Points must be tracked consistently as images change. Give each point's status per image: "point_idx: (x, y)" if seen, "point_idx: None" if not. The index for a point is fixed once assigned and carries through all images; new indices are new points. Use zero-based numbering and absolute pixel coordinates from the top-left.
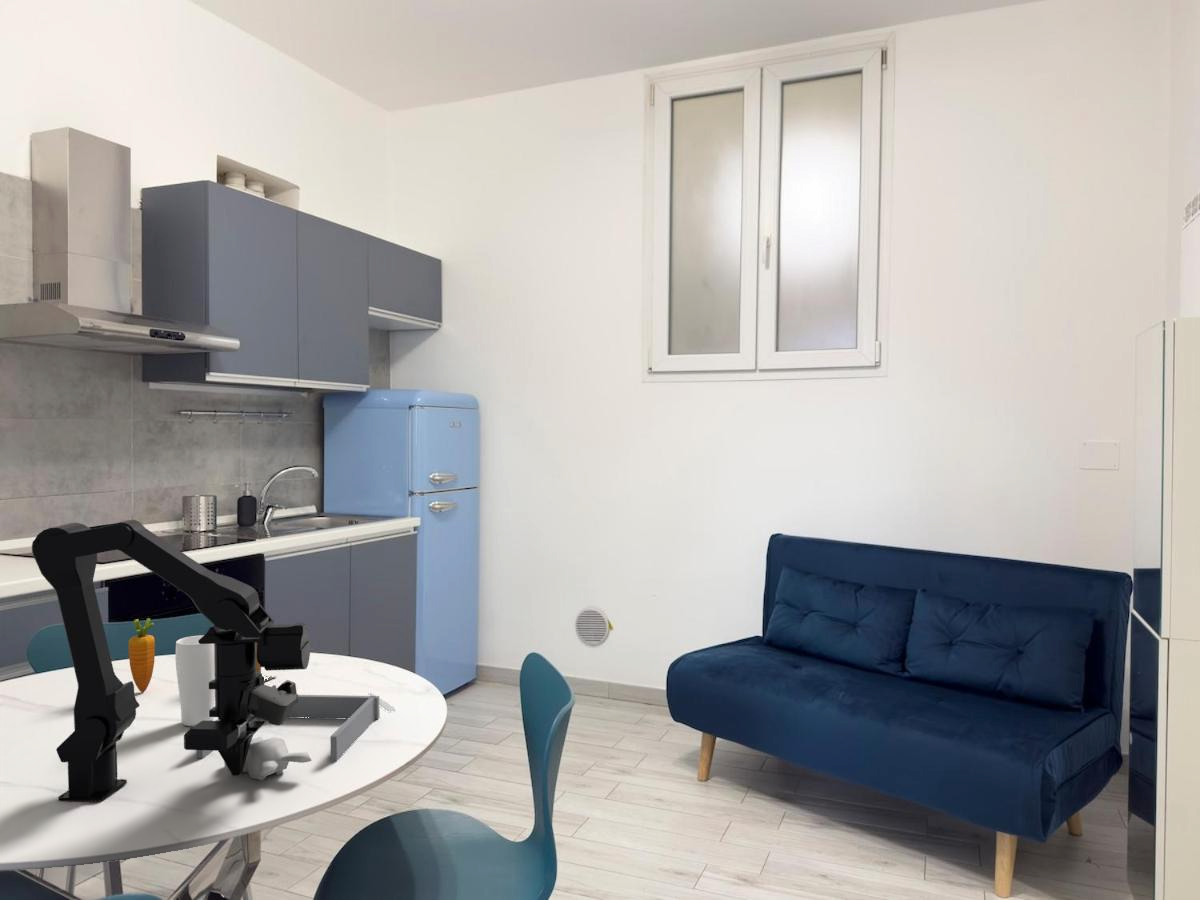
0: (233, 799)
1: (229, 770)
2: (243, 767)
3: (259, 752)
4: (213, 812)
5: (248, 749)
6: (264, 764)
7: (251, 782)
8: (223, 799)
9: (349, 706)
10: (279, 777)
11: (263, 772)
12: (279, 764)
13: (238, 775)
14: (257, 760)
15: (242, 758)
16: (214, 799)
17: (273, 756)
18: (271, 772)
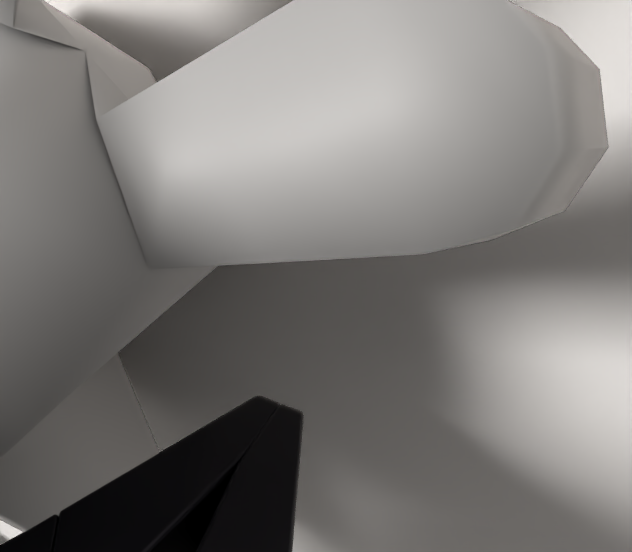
0: (615, 377)
1: (153, 452)
2: (225, 420)
3: (43, 365)
4: None
5: (54, 524)
6: (338, 236)
7: (259, 269)
8: (583, 445)
9: None
10: (156, 30)
11: (558, 201)
12: (86, 38)
13: (301, 418)
14: (138, 330)
15: (223, 532)
16: (558, 498)
17: (36, 145)
18: (576, 52)
